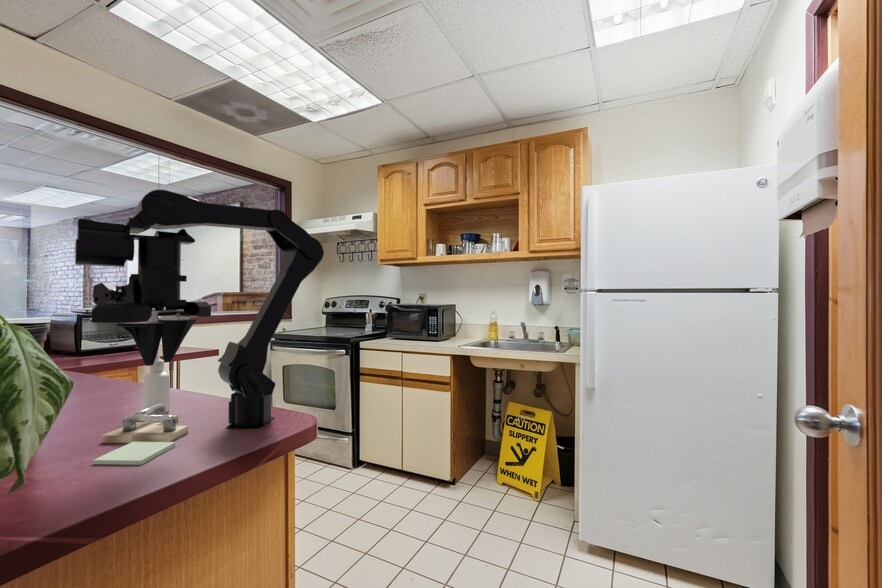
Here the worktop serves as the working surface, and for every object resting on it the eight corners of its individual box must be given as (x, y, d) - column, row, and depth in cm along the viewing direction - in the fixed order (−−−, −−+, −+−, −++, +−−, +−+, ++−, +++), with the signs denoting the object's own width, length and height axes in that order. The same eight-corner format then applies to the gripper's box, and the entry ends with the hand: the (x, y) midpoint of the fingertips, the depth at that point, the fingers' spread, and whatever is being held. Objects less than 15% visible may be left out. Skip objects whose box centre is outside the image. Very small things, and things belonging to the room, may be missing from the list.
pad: (175, 445, 63) (175, 442, 63) (141, 464, 56) (141, 460, 56) (132, 445, 63) (132, 441, 63) (93, 464, 56) (93, 460, 56)
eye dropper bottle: (169, 406, 85) (169, 351, 85) (170, 413, 80) (170, 354, 80) (143, 410, 82) (144, 353, 82) (143, 417, 78) (143, 356, 78)
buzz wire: (209, 421, 75) (209, 401, 75) (167, 443, 64) (167, 420, 64) (152, 420, 75) (152, 401, 75) (102, 442, 64) (102, 419, 64)
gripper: (155, 272, 74) (154, 354, 74) (54, 263, 55) (53, 374, 55) (213, 272, 73) (212, 355, 73) (130, 264, 55) (129, 375, 55)
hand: (158, 363), depth 64 cm, fingers open, 4 cm apart
